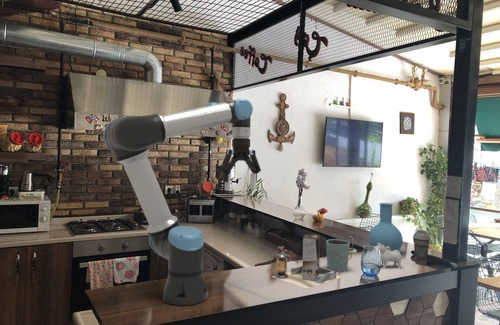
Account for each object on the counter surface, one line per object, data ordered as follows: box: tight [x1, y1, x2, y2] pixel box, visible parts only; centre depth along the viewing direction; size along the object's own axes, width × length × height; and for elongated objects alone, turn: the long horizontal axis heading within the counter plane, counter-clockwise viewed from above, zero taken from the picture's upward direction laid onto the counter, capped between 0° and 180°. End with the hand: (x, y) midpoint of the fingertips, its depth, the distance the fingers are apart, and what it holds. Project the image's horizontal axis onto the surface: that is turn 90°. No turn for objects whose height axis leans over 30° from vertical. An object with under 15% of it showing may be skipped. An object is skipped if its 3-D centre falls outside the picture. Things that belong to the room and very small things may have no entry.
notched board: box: [271, 264, 343, 289], centre depth 155 cm, size 22×18×4 cm
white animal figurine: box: [375, 243, 403, 270], centre depth 173 cm, size 5×13×11 cm, turn 95°
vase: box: [368, 202, 403, 251], centre depth 200 cm, size 16×16×25 cm
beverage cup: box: [412, 219, 431, 266], centre depth 179 cm, size 7×7×20 cm
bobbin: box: [274, 252, 289, 279], centre depth 154 cm, size 5×5×9 cm
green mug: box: [325, 238, 351, 273], centre depth 169 cm, size 10×10×12 cm
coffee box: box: [301, 233, 321, 281], centre depth 154 cm, size 9×6×16 cm
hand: (240, 189), depth 161 cm, fingers open, 13 cm apart
